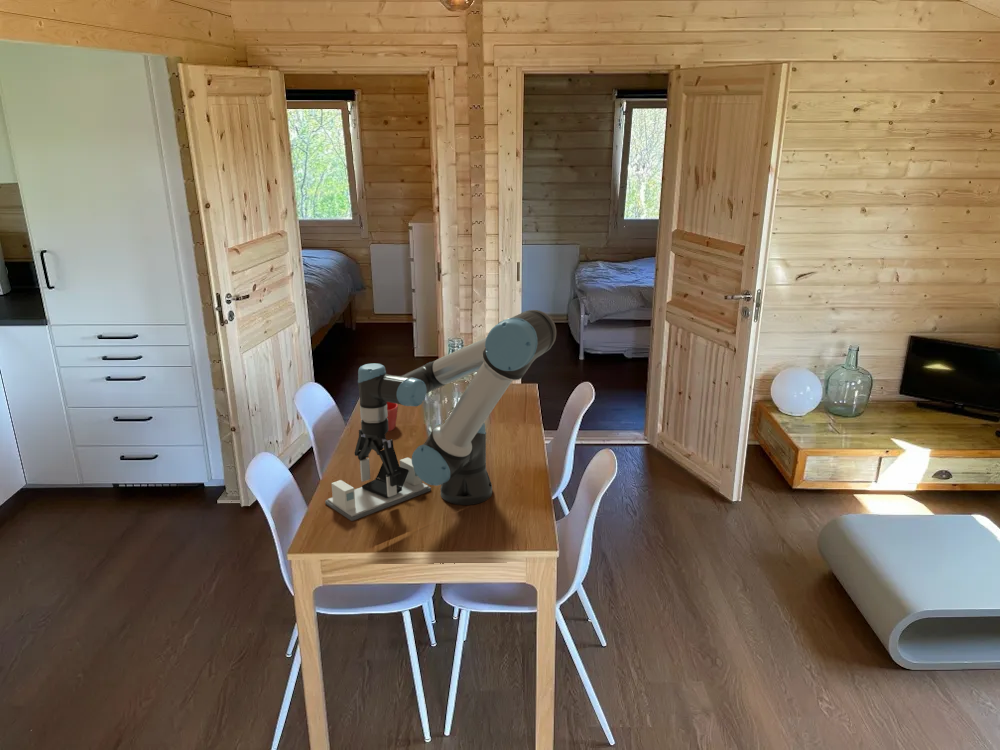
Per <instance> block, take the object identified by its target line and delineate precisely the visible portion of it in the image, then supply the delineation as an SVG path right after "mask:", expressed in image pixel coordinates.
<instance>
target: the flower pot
mask: <svg viewBox="0 0 1000 750" xmlns="http://www.w3.org/2000/svg"><path fill="white" fill-rule="evenodd" d="M398 405H399V404H396V403H391V402H387V413H388V417H387V418H388V427H389V430H388V432H391V431H393V430H394V429H396V425H397V418H398V409H399V406H398Z"/></svg>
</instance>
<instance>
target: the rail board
mask: <svg viewBox="0 0 1000 750" xmlns="http://www.w3.org/2000/svg"><path fill="white" fill-rule="evenodd" d="M399 466H400V467H402V468H405V469H408V470H409V472H408V474H407V477H406V479H405V482H404V484H403V487H402V491H400V492H398V493H397V494H396V495H393V496H391V497H388V498H385V497H383V496H380V495H378V494H375V493H373V492H370V491H368V490H365V489H363V488H362V486H361V487H358V488H355V487H353V486H352V485H351V484H348V483H346V482H345V481H344V480H342V479H339V480H337V481H334V482H331V493H332V494H331V495H332V497H329V498H327V499H325V501H324V502H325V503H324V504H326V506H328V507H330V508H331V509H332V510H334V511H336V512H337V513H339V514H340V515H342V516H343V517H345V518H346V519H348V520H349V521H351V522H353V521H357V520H358V519H361V518H364V517H366V516H369V515H372V514H374V513H376V512H379V511H382V510H384V509H388V508H389V507H392V506H395V505H397V504H400V503H402V502H405V501H408V500H411V499H413V498H415V497H418V496H421V495H424V494H426V493H428V492H431V491H432V487H430V485H429V484H427V483H425V482H423V481H422V480H421V479H420V478H419V477H418V476H417V474H416V473H415V471H414V467H413V465H412V458H410V457H405V458H402V459H399ZM400 487H401V486H400Z"/></svg>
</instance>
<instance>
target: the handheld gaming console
mask: <svg viewBox="0 0 1000 750" xmlns="http://www.w3.org/2000/svg"><path fill="white" fill-rule="evenodd" d="M400 470H401V474H398V475H396V481H397V485H396V488H397V493H398V492H400V491H402V487H403V484H404V482H405V479H406V477H407V474H408V472H409V470H408V469H405V468H402V467H400ZM386 475H388V473H387V471H386V469H385V467H384V464H383V462H382V463H381V466H380V469H379V470H378V473H377V475H376V477H375V478H374V479H373V480H371V481H369V482H367V483H364V484H361V485H362V486H361V487H362V488H363V489H365V490H368V491H370V492H373V493H375V494H378V495H380V496H383V497H385V498H388V496H387V481H386ZM400 486H401V487H400Z"/></svg>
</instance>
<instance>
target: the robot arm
mask: <svg viewBox="0 0 1000 750" xmlns="http://www.w3.org/2000/svg"><path fill="white" fill-rule="evenodd" d="M556 338H557V328H556V324H555V321H554V320H553V319H552V318H551V316H549V314H547V313H545V312H544V311H541V310H537V309H529V310H526V311H523V312H520V313H518V314H516V315H514V316H512V317H509V318H508V317H507V318H506V319H503V320H501V321H499V322H498V323H497V324H495V326H493V327H492V328H491V330H489V332H488V333H487V335H486V337H484V338H481V339H479V340H477V341H474V342H473V343H471V344H469V345H465V346H464V347H461V348H459V349H456V350H455V351H453V352H451V353H449V354H446V355H444V356H442V357H440V358H437V359H436V360H433V361H429V362H427V363H426V364H423V365H422V366H419V367H417V368H416V369H414V370H411V371H409V372H406V373H405V374H402V375H392V374H388V373H387V370H386V367H385V365H383V364H382V363H365V364H363V365H360V367H359V368H358V371H357V374H358V375H357V378H358V379H357V384H358V394H359V410H360V411H359V412H360V419H361V421H360V429H359V430H358V437H357V443H356V446H355V450H354V456H355V457H357V459H358V460H359V470H360V481H361V482H366V481H370V480H371V470H370V469H371V467H370V458H369V457H370V456H369V455H370V453H371V451H372V450H373V451H374V452H375V453H376V454H377V456H379V458H380V460H381V462H382V463H383V464H384V467H385V469H386V471H387V473H388V475H386V481H387V496H388V497H391V496H393V495H396V494H397V488H396V485H397V481H396V475H398V474H401V470H400V462H399V460H398V456H397V454H396V450H395V447H394V442H393V439H389V440H388V439H387V438H386V435H387V433H388V432H389V431H388V430H389V427H388V418H387V417H388V413H387V402H391V403H396V404H397V405H400V406H401V405H402V406H404V407H419V406H421V405H422V404H423V402H424V401H425V400H426V398H427V394H428V393H430V392H432V391H434V390H436V389H439V388H441V387H445V386H446V385H448V384H451V383H453V382H456V381H457V380H460V379H463V378H465V377H467V376H469V375H472V374H474V373H475V375H474V376H473V377H472V380H471V381H470V382H469V384H468V385H467V387H466V388H465V390H464V392H463V393H462V395H461V396H460V398H459V400H458V401H457V403H456V405H455V406H454V407H453V408H452V410H451V411H452V412H451V413H450V415H449V417H448V418H447V419H446V420H445V423H444V424H443V423H440V424H437V425H435V427H434V428H433V430H432V431H431V433H430V434H429V436H428V437H427V438H426V441H424V443H422V444H420V445H418V446H417V447H416V449H414V450H413V452H412V455H411V459H412V465H413V467H414V471H415V473H416V474H417V476H418V477H419V478H420V479H421V480H422V482H423V483H424V484H426V485H428V486H440V497H441V499H443V500H444V501H445V502H447V503H449V504H453V505H457V506H459V505H460V506H468V505H469V506H470V505H471V506H472V505H478V504H481V503H483V502H485V501H487V500H489V499H490V498H491V497H492V494H493V484H492V482H491V478H490V476H489V473H488V470H487V431H486V424H485V422H486V420H487V419H488V418H489V416H490V415H491V413H492V412H493V410H494V408H495V407H496V406H497V404H498V403H499V401H500V399H501V398H502V397H503V396H504V394H505V393H506V390H507V389H508V388H509V386H510V385H511V383H512V382H513V381H520V380H522V378H523V377H524V376H525V374H526V372H527V371H528V369H530V367H531V365H532V364H533V362H534V361H535V360H536V359H537V358H539V357H541V356H543V355H544V354H545V353H547V352H548V351H549V350H551V348H552V346H553V345H554V344H555V342H556Z"/></svg>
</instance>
